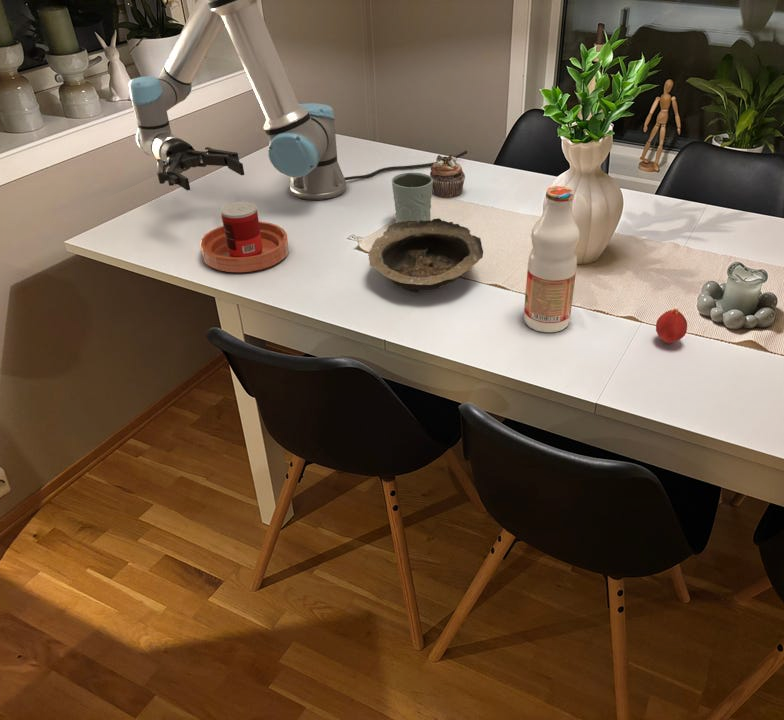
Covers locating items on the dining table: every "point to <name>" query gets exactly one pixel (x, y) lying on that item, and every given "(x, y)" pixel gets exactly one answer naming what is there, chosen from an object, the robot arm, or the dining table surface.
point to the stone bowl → (425, 253)
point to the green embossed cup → (412, 196)
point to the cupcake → (447, 177)
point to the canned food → (242, 229)
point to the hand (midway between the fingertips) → (215, 177)
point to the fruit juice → (552, 264)
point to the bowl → (221, 260)
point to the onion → (671, 326)
